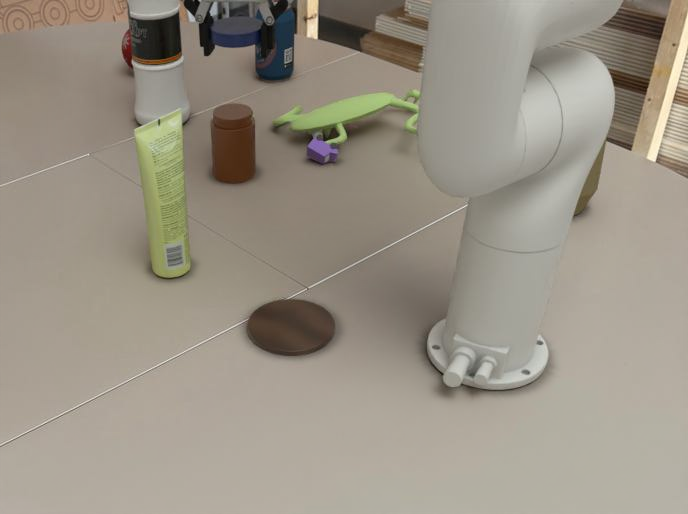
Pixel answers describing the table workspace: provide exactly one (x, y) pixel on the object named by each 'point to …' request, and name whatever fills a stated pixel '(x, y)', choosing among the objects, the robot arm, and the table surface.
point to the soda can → (278, 49)
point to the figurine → (344, 120)
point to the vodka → (157, 59)
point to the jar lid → (236, 32)
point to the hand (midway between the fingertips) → (237, 52)
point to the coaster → (291, 327)
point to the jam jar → (233, 143)
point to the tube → (164, 193)
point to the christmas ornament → (127, 49)
